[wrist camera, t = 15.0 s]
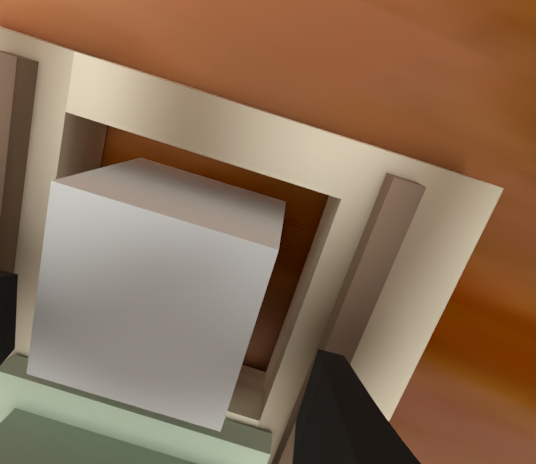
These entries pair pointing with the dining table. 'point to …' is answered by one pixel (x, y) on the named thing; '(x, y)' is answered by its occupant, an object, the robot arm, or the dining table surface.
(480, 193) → the sliding lid box
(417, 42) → the dining table surface
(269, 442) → the cover
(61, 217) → the grey block
